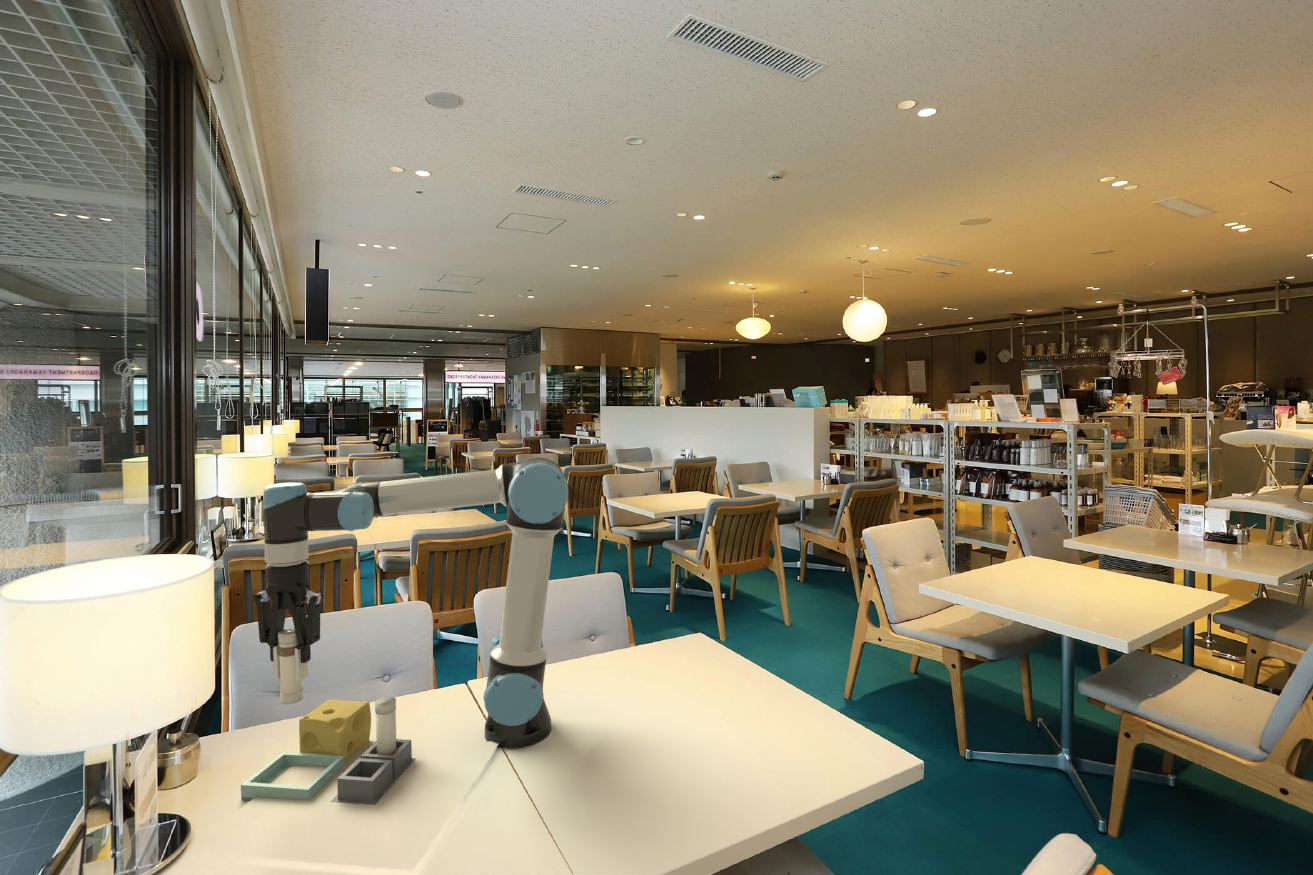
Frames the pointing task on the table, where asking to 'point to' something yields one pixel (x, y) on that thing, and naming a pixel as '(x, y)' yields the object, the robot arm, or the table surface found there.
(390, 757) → the fuse block
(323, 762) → the pale green rectangular frame
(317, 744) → the cheese
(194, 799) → the table surface
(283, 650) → the banded white cylinder
